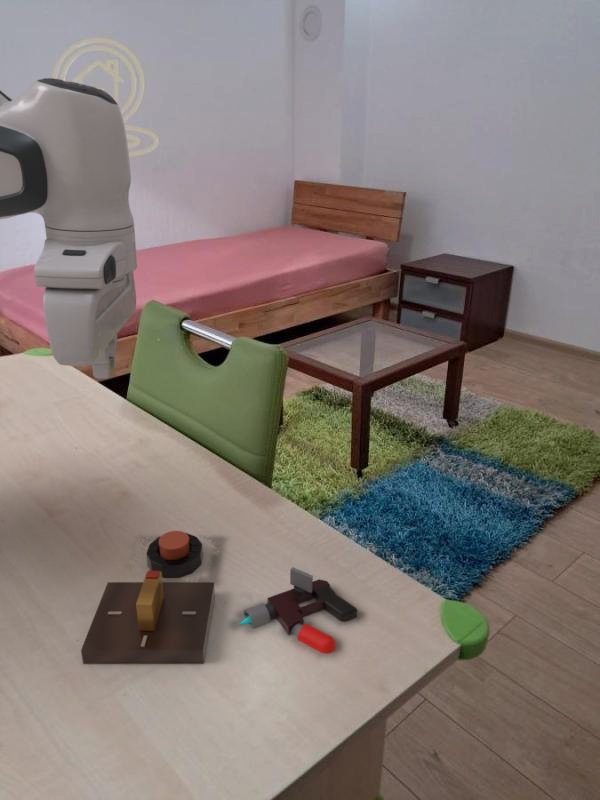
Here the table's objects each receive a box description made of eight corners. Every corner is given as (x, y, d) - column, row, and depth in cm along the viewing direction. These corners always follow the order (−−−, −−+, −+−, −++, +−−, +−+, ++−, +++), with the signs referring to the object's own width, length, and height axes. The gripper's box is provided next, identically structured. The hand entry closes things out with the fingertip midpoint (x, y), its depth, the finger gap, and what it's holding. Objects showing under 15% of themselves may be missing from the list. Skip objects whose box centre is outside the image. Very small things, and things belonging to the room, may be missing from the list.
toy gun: (232, 623, 70) (231, 588, 68) (326, 588, 75) (327, 554, 73) (271, 687, 62) (271, 650, 60) (372, 642, 67) (375, 607, 65)
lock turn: (154, 631, 64) (151, 602, 63) (139, 631, 64) (135, 602, 63) (164, 597, 69) (161, 569, 67) (149, 596, 69) (146, 569, 67)
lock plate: (84, 672, 63) (80, 649, 62) (110, 602, 72) (107, 580, 71) (204, 672, 63) (202, 649, 62) (215, 602, 73) (214, 580, 71)
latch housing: (128, 590, 74) (125, 570, 73) (142, 548, 82) (140, 528, 80) (213, 590, 74) (212, 570, 73) (220, 548, 82) (219, 529, 80)
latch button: (157, 560, 75) (155, 548, 74) (162, 542, 78) (161, 530, 78) (187, 560, 75) (186, 549, 75) (191, 542, 79) (191, 530, 78)
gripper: (92, 234, 76) (102, 342, 82) (25, 273, 57) (45, 411, 63) (144, 235, 76) (151, 344, 82) (95, 276, 57) (109, 412, 63)
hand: (105, 374), depth 72 cm, fingers closed
